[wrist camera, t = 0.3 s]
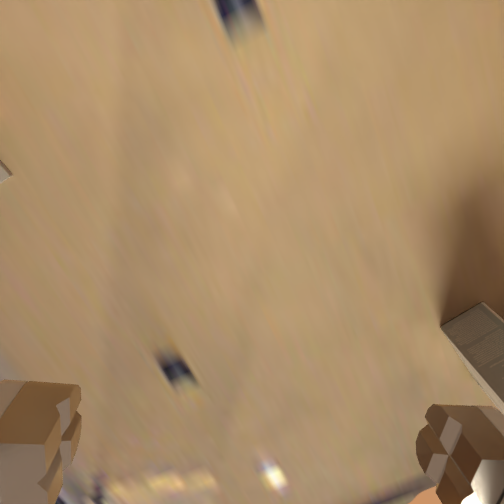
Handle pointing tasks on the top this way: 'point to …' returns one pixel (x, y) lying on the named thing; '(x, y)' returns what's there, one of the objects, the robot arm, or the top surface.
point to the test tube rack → (4, 172)
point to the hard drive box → (481, 348)
